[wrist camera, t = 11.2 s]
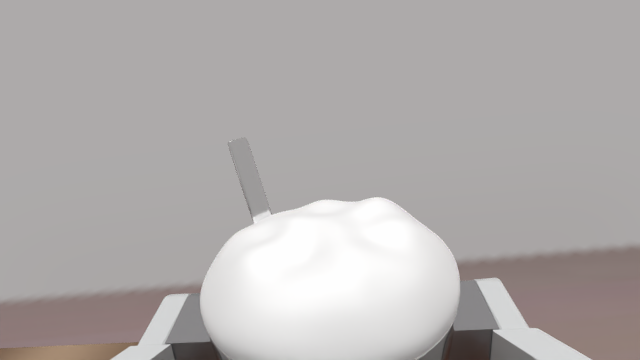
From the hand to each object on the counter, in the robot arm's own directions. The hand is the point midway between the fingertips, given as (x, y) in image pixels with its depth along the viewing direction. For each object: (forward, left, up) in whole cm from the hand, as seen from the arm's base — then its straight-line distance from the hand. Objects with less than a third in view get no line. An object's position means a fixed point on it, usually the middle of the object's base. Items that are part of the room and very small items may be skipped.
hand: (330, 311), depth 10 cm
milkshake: (+1, -1, -6) cm, 7 cm away
